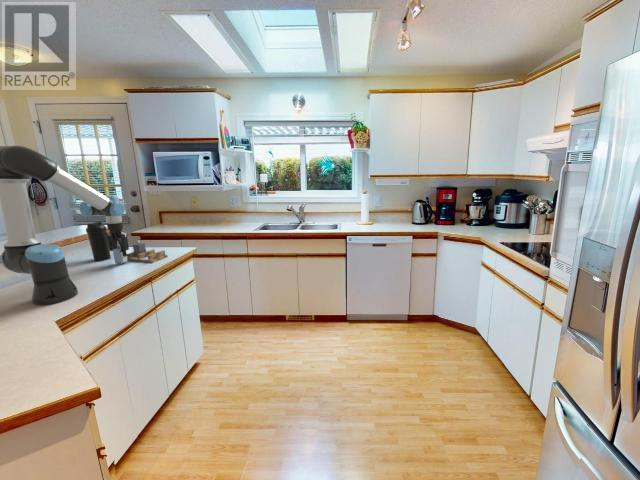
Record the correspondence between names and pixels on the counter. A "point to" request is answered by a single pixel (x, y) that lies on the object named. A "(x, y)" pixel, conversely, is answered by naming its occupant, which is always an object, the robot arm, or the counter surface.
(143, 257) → the slot rack
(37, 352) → the counter surface
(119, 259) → the plug blue
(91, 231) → the water bottle
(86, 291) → the counter surface
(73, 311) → the counter surface
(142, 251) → the plug charcoal
